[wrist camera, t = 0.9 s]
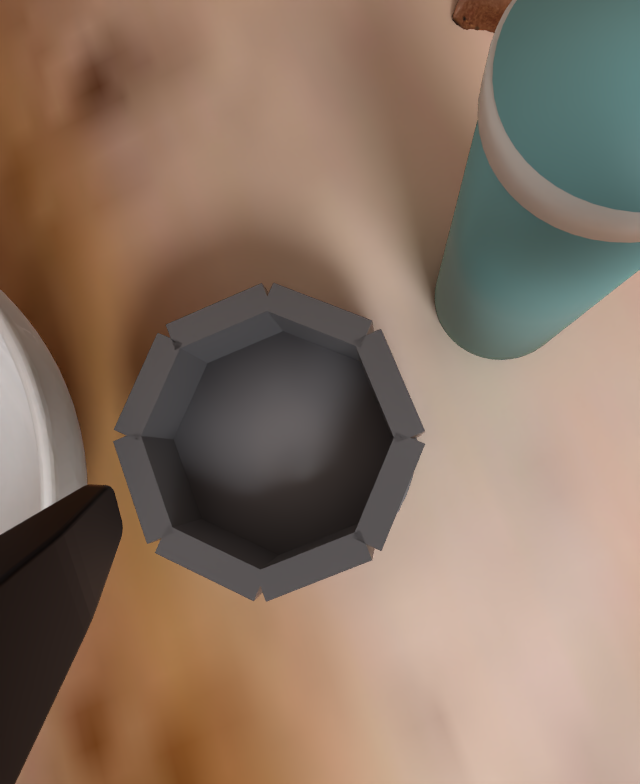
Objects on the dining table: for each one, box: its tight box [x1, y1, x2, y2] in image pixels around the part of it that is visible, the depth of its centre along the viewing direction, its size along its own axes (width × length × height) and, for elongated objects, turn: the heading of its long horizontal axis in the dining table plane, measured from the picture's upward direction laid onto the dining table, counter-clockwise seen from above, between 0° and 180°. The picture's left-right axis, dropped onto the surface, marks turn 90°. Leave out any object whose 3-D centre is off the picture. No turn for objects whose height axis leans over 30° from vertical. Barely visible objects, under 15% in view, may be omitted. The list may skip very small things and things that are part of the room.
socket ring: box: [113, 283, 425, 601], centre depth 21 cm, size 10×10×4 cm
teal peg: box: [435, 0, 640, 360], centre depth 16 cm, size 5×5×13 cm
